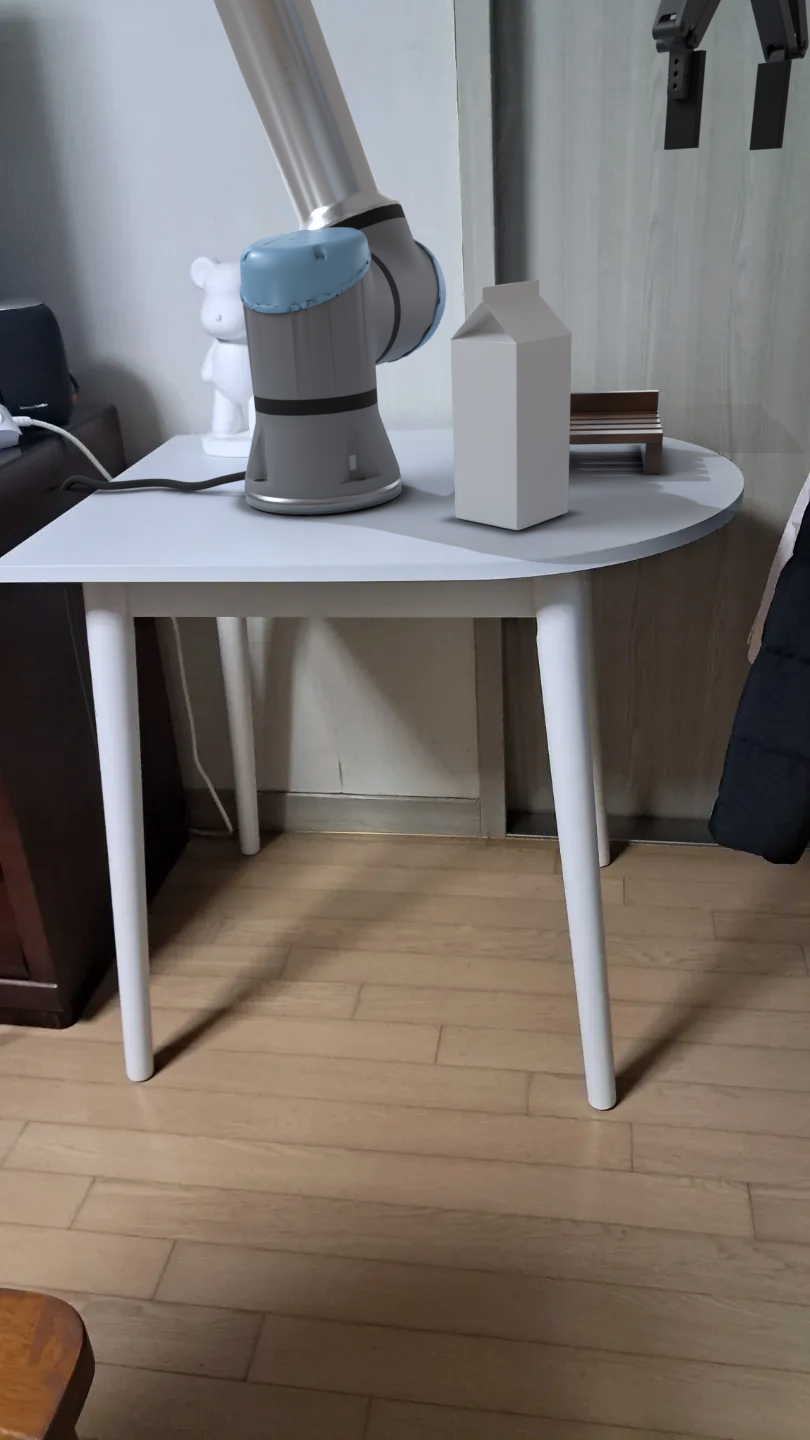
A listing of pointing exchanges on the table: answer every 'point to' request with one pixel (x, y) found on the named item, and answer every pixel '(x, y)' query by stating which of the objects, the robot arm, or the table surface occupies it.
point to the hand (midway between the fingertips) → (725, 149)
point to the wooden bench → (619, 422)
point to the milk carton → (511, 409)
